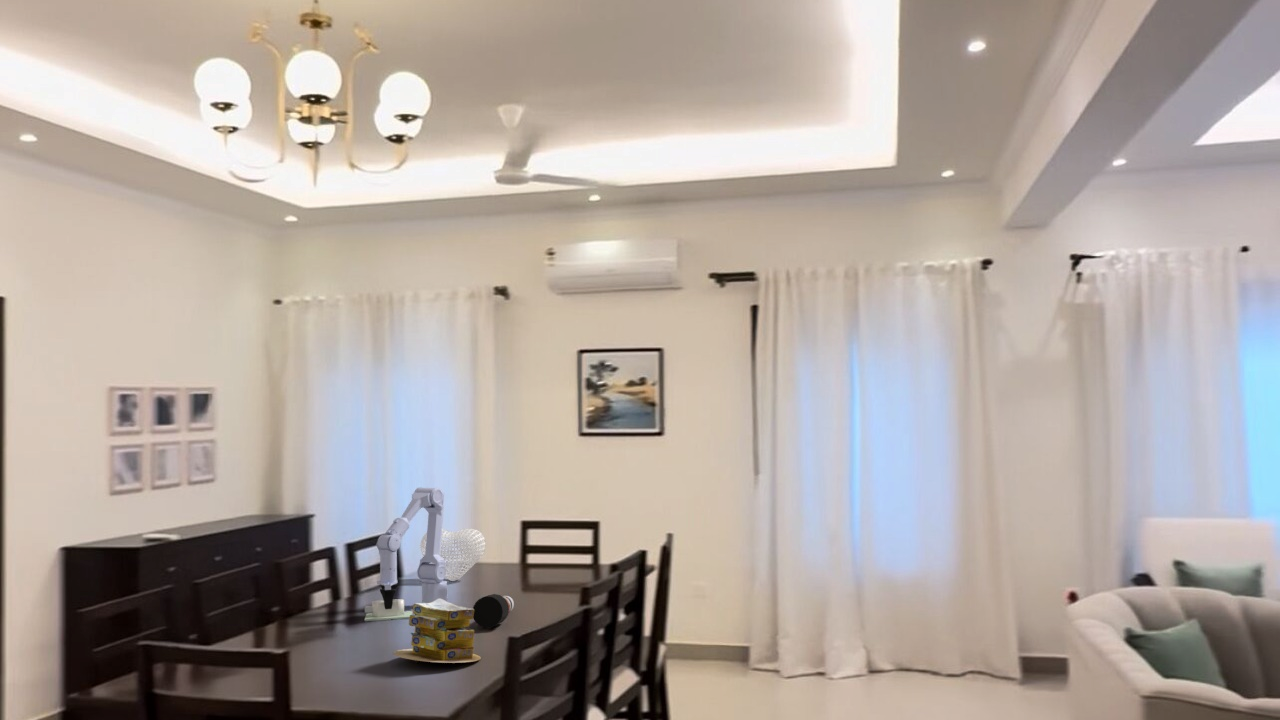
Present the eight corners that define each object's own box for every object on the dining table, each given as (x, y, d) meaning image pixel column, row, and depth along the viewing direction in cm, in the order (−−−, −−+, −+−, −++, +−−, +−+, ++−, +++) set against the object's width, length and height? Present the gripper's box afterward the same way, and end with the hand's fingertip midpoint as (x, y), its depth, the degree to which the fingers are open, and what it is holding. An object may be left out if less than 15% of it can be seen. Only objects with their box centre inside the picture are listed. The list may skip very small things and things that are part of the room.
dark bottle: (514, 622, 351) (527, 596, 352) (493, 633, 318) (508, 605, 319) (490, 609, 353) (502, 583, 354) (466, 619, 319) (481, 590, 320)
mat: (412, 612, 350) (412, 611, 350) (411, 618, 340) (411, 616, 340) (366, 615, 346) (366, 613, 346) (364, 621, 337) (364, 619, 337)
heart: (490, 577, 422) (489, 526, 423) (480, 584, 406) (479, 530, 408) (427, 577, 425) (427, 526, 426) (415, 584, 409) (415, 531, 411)
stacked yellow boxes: (452, 647, 297) (452, 592, 298) (497, 661, 278) (496, 602, 279) (378, 662, 280) (377, 603, 281) (420, 678, 262) (419, 615, 263)
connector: (404, 613, 346) (404, 598, 347) (404, 615, 343) (403, 601, 343) (365, 615, 344) (365, 601, 344) (364, 617, 340) (364, 603, 340)
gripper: (378, 565, 350) (378, 603, 350) (375, 572, 336) (376, 611, 336) (398, 564, 352) (398, 602, 351) (396, 571, 338) (396, 610, 337)
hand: (388, 607), depth 343 cm, fingers open, 6 cm apart
